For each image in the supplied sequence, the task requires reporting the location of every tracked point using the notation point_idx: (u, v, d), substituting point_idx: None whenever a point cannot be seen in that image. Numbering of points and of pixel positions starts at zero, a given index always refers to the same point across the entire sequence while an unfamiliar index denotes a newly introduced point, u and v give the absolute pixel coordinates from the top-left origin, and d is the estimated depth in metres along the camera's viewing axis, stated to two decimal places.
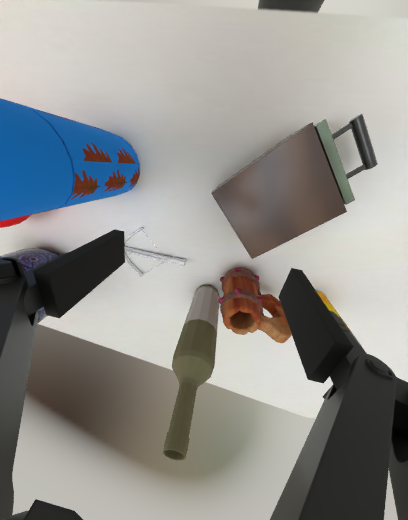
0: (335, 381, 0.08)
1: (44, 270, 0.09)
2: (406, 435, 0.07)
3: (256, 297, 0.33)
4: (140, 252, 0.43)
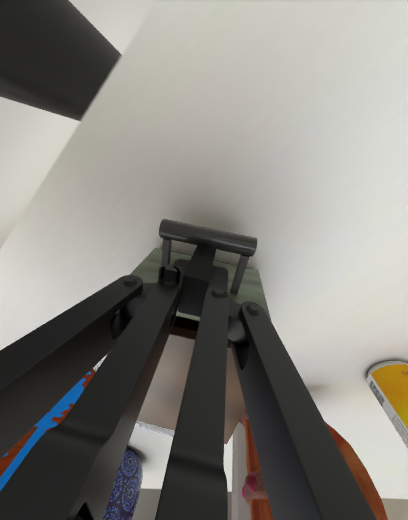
0: None
1: (190, 274, 0.10)
2: (243, 346, 0.09)
3: None
4: None
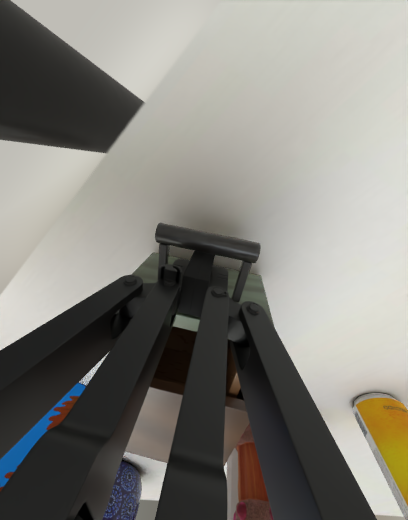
0: None
1: (190, 274, 0.10)
2: (243, 346, 0.09)
3: (269, 515, 0.21)
4: None
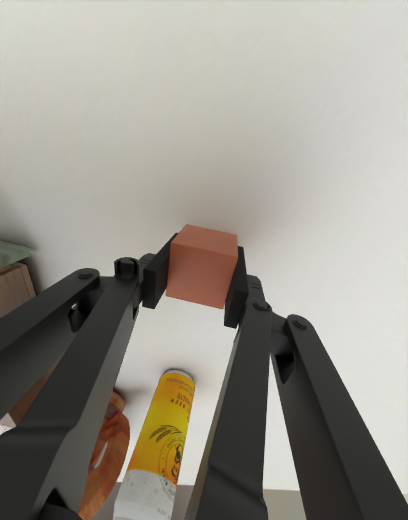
0: None
1: (151, 268, 0.10)
2: (286, 360, 0.09)
3: None
4: None
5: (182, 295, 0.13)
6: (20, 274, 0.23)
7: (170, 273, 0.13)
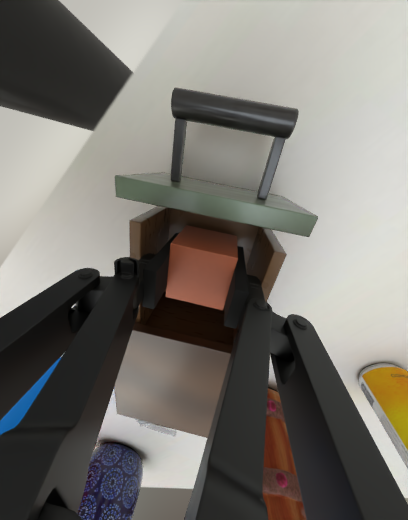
0: None
1: (151, 268, 0.10)
2: (286, 360, 0.09)
3: (275, 481, 0.21)
4: None
5: (182, 295, 0.13)
6: None
7: (170, 273, 0.13)
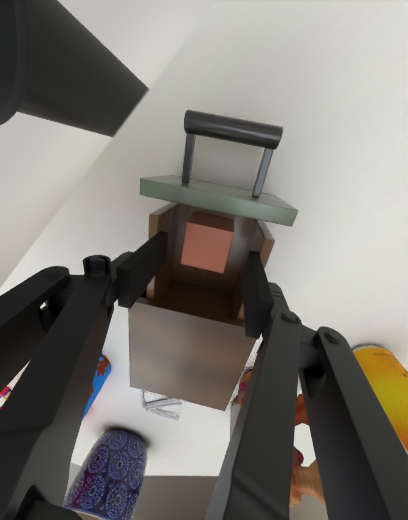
0: (263, 337, 0.10)
1: (124, 266, 0.10)
2: (314, 374, 0.08)
3: None
4: (158, 405, 0.42)
5: (193, 262, 0.18)
6: None
7: (185, 245, 0.17)
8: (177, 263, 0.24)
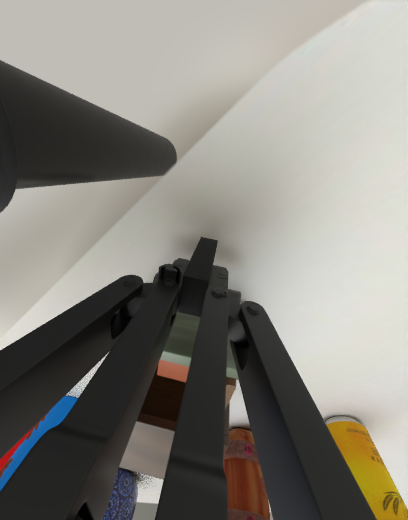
0: None
1: (190, 274, 0.10)
2: (243, 346, 0.09)
3: None
4: None
5: (168, 375, 0.20)
6: None
7: (160, 363, 0.19)
8: None
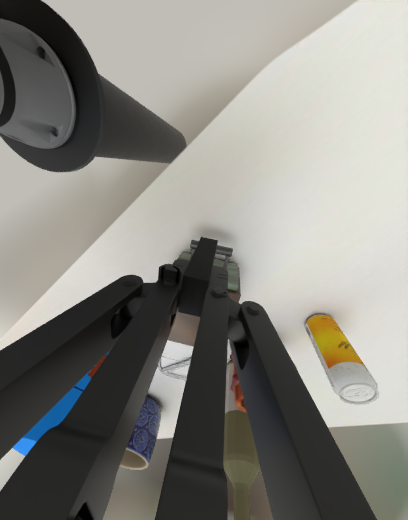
0: None
1: (190, 275, 0.10)
2: (243, 346, 0.09)
3: None
4: (172, 368, 0.55)
5: None
6: None
7: None
8: None
